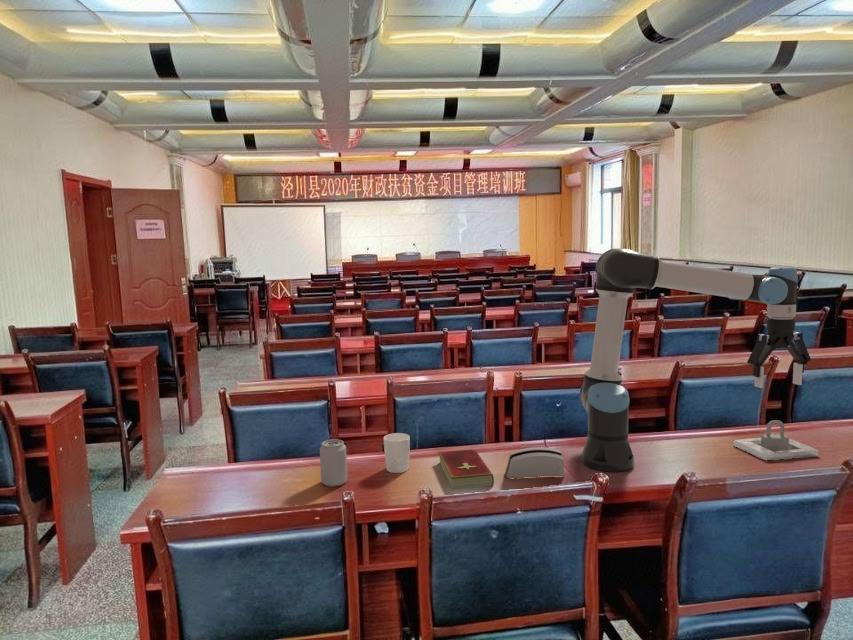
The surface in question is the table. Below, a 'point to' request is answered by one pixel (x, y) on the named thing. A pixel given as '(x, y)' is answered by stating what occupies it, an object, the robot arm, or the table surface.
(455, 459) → the hardcover book
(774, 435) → the padlock
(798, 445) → the holed plate
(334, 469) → the can
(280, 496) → the table surface
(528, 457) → the napkin holder
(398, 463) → the white cup
